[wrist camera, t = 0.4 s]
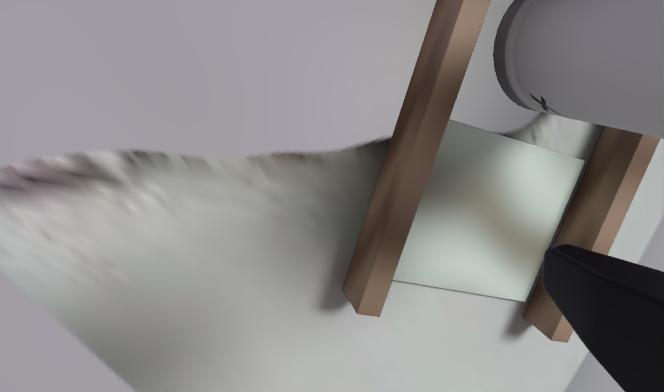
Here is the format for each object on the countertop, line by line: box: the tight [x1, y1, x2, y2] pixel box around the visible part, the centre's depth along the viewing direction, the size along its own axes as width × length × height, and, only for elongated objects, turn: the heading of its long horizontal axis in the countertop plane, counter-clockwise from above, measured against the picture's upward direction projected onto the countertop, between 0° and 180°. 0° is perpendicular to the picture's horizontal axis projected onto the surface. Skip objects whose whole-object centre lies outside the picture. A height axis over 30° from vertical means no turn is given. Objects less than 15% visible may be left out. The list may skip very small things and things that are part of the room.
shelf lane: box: [342, 0, 661, 343], centre depth 23 cm, size 21×13×6 cm, turn 163°
